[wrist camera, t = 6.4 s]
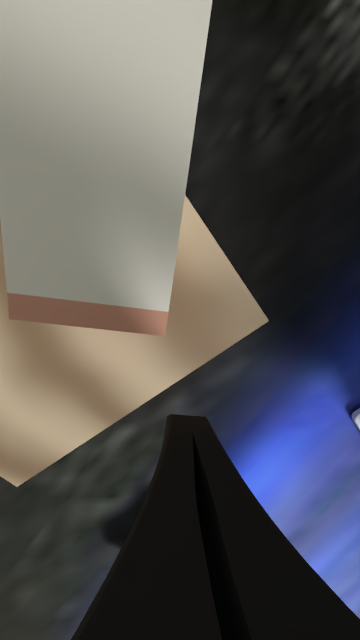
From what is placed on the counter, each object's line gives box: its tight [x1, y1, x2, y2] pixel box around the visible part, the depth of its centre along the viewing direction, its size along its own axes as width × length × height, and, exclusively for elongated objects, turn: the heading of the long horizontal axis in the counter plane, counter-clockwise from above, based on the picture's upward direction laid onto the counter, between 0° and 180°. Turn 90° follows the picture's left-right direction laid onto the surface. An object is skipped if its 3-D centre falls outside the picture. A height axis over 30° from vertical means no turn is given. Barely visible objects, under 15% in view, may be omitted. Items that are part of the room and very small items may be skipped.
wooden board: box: [0, 195, 269, 487], centre depth 15 cm, size 20×14×1 cm
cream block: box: [0, 0, 212, 336], centre depth 9 cm, size 4×6×10 cm
